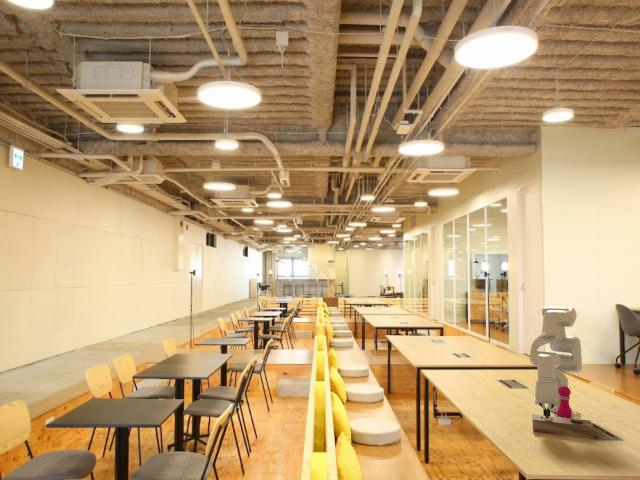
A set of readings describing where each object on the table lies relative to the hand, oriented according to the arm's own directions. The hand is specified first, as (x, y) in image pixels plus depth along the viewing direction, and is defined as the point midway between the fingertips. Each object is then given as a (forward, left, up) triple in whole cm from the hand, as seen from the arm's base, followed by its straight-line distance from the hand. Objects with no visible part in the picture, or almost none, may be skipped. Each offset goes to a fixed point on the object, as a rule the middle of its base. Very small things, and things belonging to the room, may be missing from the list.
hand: (546, 417), depth 235 cm
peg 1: (0, 0, -5) cm, 5 cm away
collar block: (0, +7, -7) cm, 9 cm away
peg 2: (0, +13, -1) cm, 13 cm away
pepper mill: (-19, +10, -7) cm, 22 cm away
